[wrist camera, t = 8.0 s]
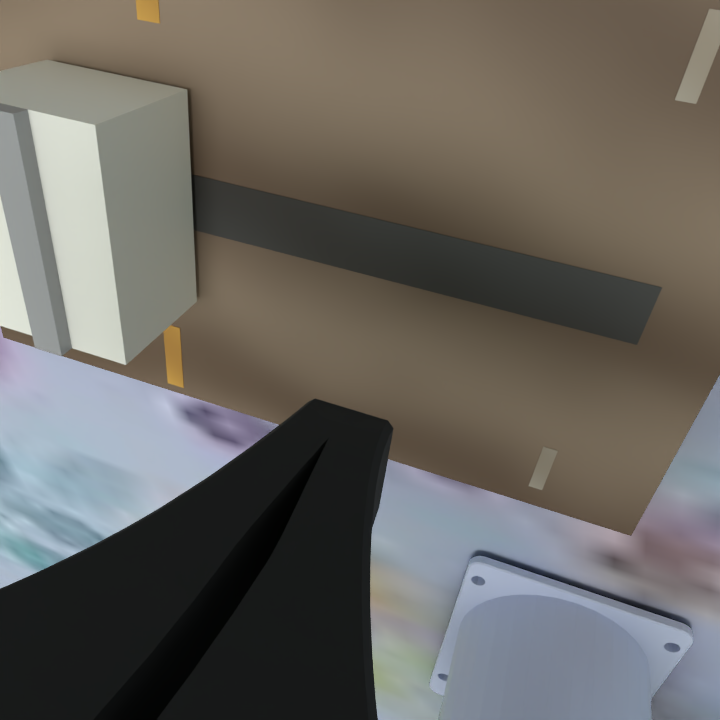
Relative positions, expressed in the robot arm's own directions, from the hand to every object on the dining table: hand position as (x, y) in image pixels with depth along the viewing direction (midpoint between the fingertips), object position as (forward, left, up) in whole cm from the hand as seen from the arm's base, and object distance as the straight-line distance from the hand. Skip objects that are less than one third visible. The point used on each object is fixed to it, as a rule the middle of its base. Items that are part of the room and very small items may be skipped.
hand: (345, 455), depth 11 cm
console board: (0, +4, -9) cm, 10 cm away
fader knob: (0, +9, -7) cm, 11 cm away
